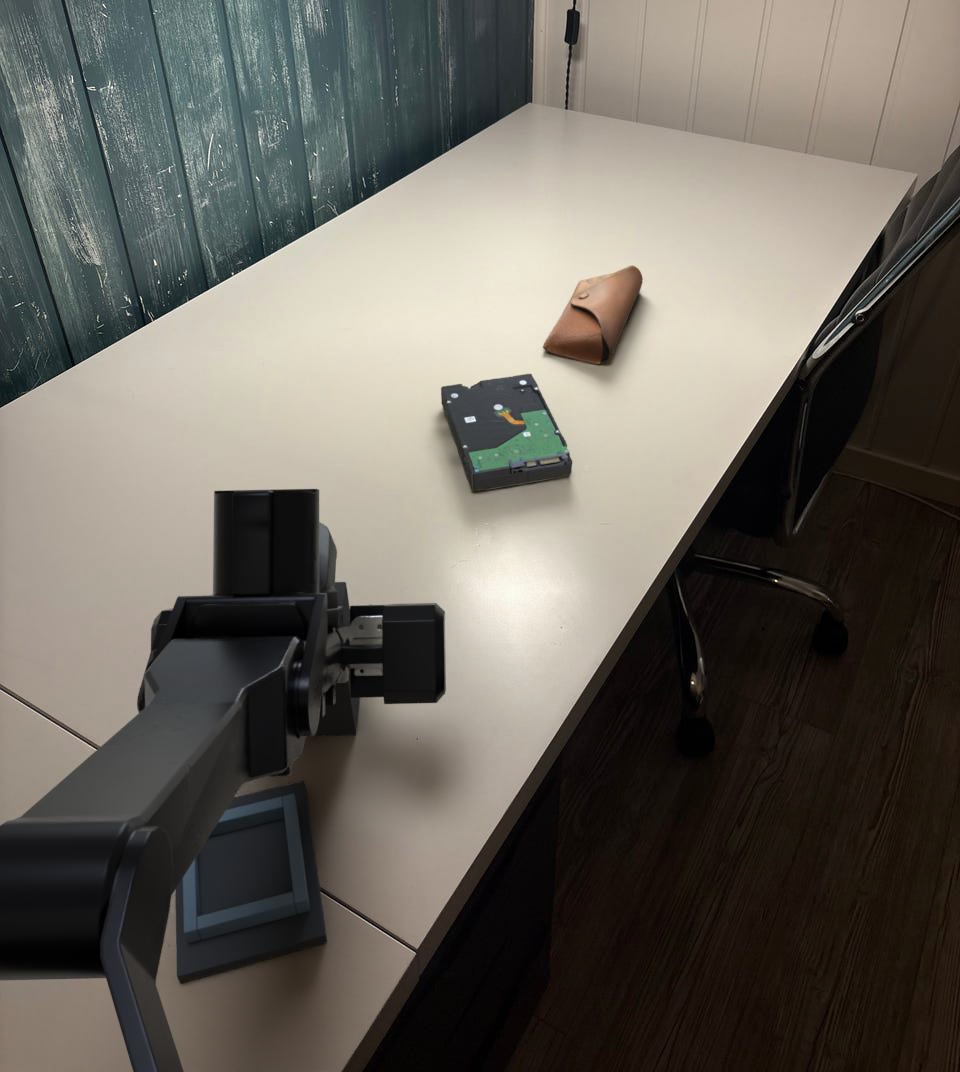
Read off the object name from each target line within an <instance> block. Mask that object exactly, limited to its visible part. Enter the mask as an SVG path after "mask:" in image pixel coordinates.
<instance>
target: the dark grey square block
mask: <svg viewBox="0 0 960 1072" xmlns="http://www.w3.org/2000/svg"><path fill="white" fill-rule="evenodd" d="M347 586H348V585H347V582H346V581H335V589H336V590H337V591H338V606H343V627H349V626H350V601H349V593H348V587H347ZM341 644H342V646H349V640H348V639H347V641H346V643H343V640H342V639H341ZM346 666H348V668H349V664H342V668H343V671H344V670H345V667H346ZM349 670H350V669H349ZM335 692H336V702H335V704H334V705H325V715H324V716H323V717H321V718H319V724H318V728H317V732H316V734H315V735H314V736H313V737H335V736H337V737H338V736H340V737H341V736H357V733H358V723H359V713H360V702H361V698H351V697H350V678H349V680H348V681H347V682H346V683H335Z"/></svg>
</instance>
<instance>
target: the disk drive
mask: <svg viewBox="0 0 960 1072" xmlns="http://www.w3.org/2000/svg"><path fill="white" fill-rule="evenodd" d="M440 395H441V396H440V398H441V405H442V410H443V413H444V416H445V419H446V420H447V423H448V425H449V429H450V432H451V435H452V437H453V440H454V443H455V445H456V449H457V452H458V454H459V457H460V460H461V463H462V467H463V468H464V473H465V476H466V478H467V481H468V483H469V486H470V487H471V491H472V492H476V491H483V490H487V491H488V490H493V489H499V488H504V487H511V486H517V485H524V484H529V483H535V482H540V481H541V482H542V481H547V480H553V479H558V478H563V477H565V476H570V475H572V468H573V460H572V457H571V454H570V450H569V448H568V444H567V441H566V440H565V437H564V436H563V434H562V432H561V431H560V428H559V426H558V424H557V422H556V420H555V418H554V416H553V414H552V412H551V409H550V408H549V405H548V404H547V402H546V400H545V398H544V396H543V394H542V392H541V390H540V388H539V385H538V383H537V381H536V380H535V378H534V376H533V374H532V373H524V374H518V375H513V376H506V377H498V378H491V379H490V378H489V379H484V380H483V379H482V380H480V381H478V382H477V383H474V384H473V385H471V386H470V387H468V386H466V385H463V384H462V383H457V384H450V385H443V386H441V387H440Z"/></svg>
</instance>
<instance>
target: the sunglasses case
mask: <svg viewBox="0 0 960 1072" xmlns="http://www.w3.org/2000/svg"><path fill="white" fill-rule="evenodd" d="M643 280H644V278H643V274H642V272H641V270H640V269H639V268H638V267H636V266H635V265H629V266H627V267H624V268H622V269H620V270H617V271H615V272H612V273H607V274H603V275H598V276H594V277H590V278H586V279H581V280H579V281H578V283H577V285H576V287H575V289H574V291H573V293H572V295H571V297H570V299H569V300H568V302H567V304H566V306H565V307H564V309H563V311H562V313H561V315H560V317H559V318H558V320H557V322H556V323H555V325H554V326H553V328H552V330H551V331H550V333H549V334H548V336H547V337H546V339H545V341H544V343H543V345H542V349H543V350H545V351H546V352H547V353H550V354H553V355H557V356H559V357H562V358H566V359H569V360H573V361H578V362H582V363H586V364H591V365H596V366H600V365H604V364H606V363H607V362H608V361H610V360H611V358H612V356H613V354H614V351H615V349H616V346H617V344H618V342H619V339H620V337H621V335H622V332H623V330H624V329H625V325H626V322H627V320H628V319H629V315H630V313H631V311H632V310H633V306H634V304H635V303H636V300H637V297H638V295H639V293H640V292H641V289H642V286H643Z"/></svg>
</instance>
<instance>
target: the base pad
mask: <svg viewBox="0 0 960 1072" xmlns="http://www.w3.org/2000/svg"><path fill="white" fill-rule="evenodd" d="M309 803H310V802H309V798H308V790H307V784H306V781H305V780H300V781H297V782H293V783H288V784H284V785H280V786H275V787H272V788H268V789H263V790H259V791H255V792H252V793H251V792H250V793H247V794H243V795H239V796H235V797H234V798H233V800H232V801H231V803H230V805H229V806H228V808H227V809H226V811H225V812H224V814H223V816H222V817H221V819H220V820H219V822H218V823H217V825H216V827H215V828H214V830H213V831H212V833H211V834H210V836H209V837H208V839H207V841H206V842H205V844H204V845H203V847H202V848H201V850H200V852H199V853H198V855H197V856H196V858H195V859H194V861H193V863H192V864H191V866H190V867H189V869H188V870H187V872H186V874H185V875H184V877H183V878H182V880H181V881H180V883H179V885H178V886H177V888H176V889H175V891H174V893H175V940H176V941H175V948H176V949H175V951H176V956H175V957H176V977H177V980H178V982H179V983H181V984H182V983H186V982H190V981H193V980H197V979H201V978H204V977H208V976H211V975H216V974H218V973H222V972H225V971H226V972H227V971H230V970H233V969H236V968H240V967H244V966H247V965H251V964H254V963H258V962H262V961H265V960H270V959H272V958H277V957H281V956H284V955H287V954H290V953H295V952H297V951H301V950H306V949H309V948H313V947H316V946H320V945H323V944H327V943H328V936H327V929H326V922H325V914H324V907H323V901H322V900H323V899H322V892H321V885H320V877H319V870H318V862H317V857H316V856H317V855H316V847H315V842H314V841H315V840H314V833H313V826H312V820H311V812H310V804H309Z"/></svg>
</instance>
